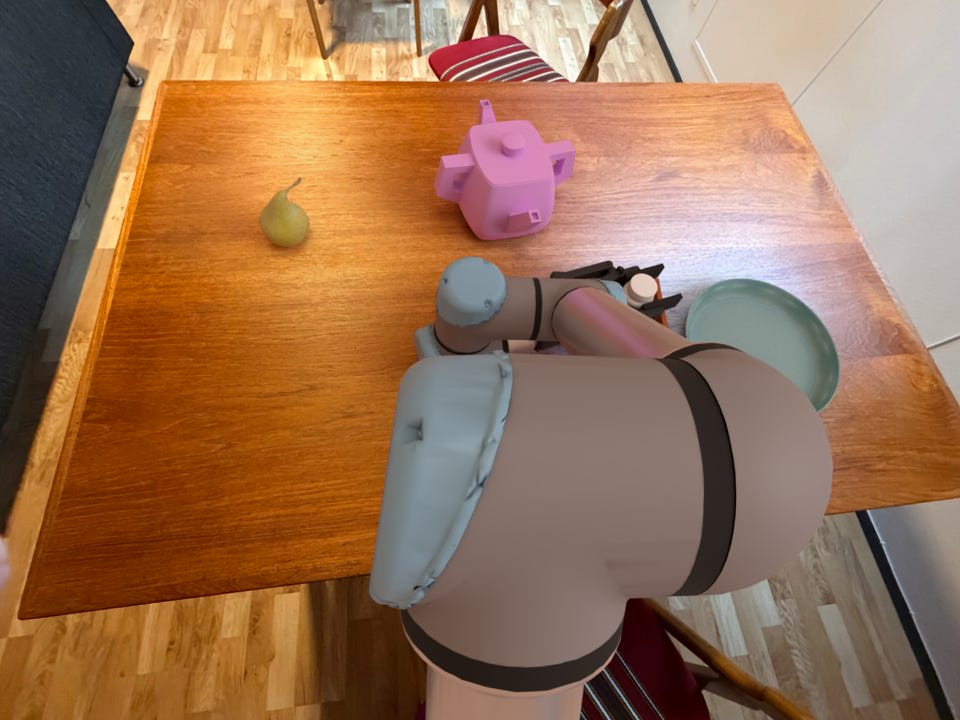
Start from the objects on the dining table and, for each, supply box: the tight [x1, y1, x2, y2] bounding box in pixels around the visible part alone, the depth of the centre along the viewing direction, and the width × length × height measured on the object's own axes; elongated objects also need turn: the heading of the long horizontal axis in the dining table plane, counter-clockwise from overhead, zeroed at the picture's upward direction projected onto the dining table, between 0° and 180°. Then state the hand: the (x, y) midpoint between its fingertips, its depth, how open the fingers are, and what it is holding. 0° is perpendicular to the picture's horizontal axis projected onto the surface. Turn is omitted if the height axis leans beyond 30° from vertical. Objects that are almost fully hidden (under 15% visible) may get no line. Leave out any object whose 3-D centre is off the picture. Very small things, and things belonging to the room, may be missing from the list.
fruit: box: [259, 177, 310, 248], centre depth 80 cm, size 7×8×12 cm
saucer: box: [685, 277, 841, 414], centre depth 84 cm, size 24×24×3 cm
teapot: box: [433, 99, 577, 241], centre depth 86 cm, size 19×18×15 cm
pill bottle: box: [623, 274, 657, 310], centre depth 82 cm, size 5×5×8 cm
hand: (668, 285), depth 81 cm, fingers closed on pill bottle, 5 cm apart
